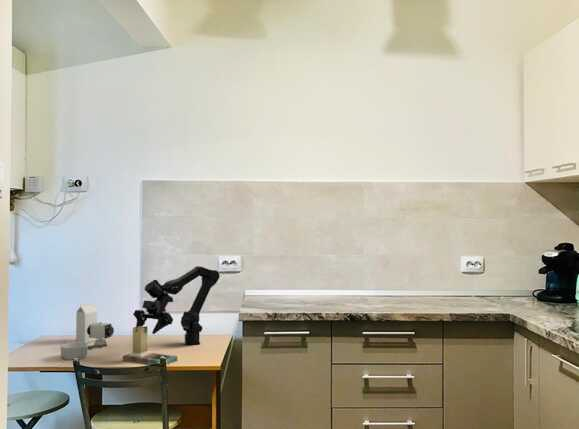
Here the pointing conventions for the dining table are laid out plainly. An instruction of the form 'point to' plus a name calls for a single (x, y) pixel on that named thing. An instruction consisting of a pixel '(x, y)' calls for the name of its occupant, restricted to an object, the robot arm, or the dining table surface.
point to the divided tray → (148, 358)
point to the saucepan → (76, 350)
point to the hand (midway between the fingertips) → (144, 332)
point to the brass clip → (139, 339)
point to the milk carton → (85, 322)
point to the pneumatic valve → (100, 332)
